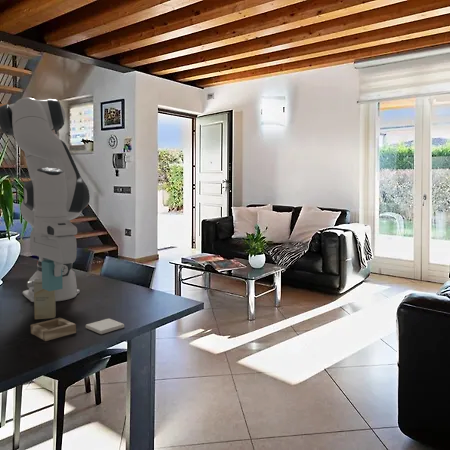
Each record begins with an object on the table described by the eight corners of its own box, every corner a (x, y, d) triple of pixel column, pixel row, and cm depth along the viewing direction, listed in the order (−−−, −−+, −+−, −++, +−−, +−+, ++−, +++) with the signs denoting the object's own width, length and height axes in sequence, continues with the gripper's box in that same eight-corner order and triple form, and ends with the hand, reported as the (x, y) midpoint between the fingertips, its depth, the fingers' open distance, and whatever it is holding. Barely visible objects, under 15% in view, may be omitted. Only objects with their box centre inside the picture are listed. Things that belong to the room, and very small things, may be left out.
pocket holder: (30, 333, 124) (30, 324, 124) (60, 325, 131) (60, 317, 131) (45, 341, 118) (45, 332, 118) (76, 332, 125) (75, 324, 125)
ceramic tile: (85, 327, 129) (85, 324, 129) (108, 321, 135) (108, 318, 135) (100, 334, 124) (100, 330, 124) (124, 327, 130) (124, 324, 129)
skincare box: (34, 320, 136) (32, 282, 135) (35, 315, 140) (34, 279, 139) (55, 318, 138) (54, 280, 137) (56, 314, 142) (55, 277, 141)
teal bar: (42, 288, 123) (41, 260, 123) (55, 286, 126) (55, 259, 126) (49, 291, 121) (48, 263, 120) (62, 288, 124) (62, 261, 123)
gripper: (23, 223, 126) (24, 269, 128) (58, 230, 113) (59, 282, 114) (44, 221, 131) (45, 266, 132) (80, 229, 117) (81, 278, 119)
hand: (52, 274), depth 123 cm, fingers closed on teal bar, 4 cm apart
